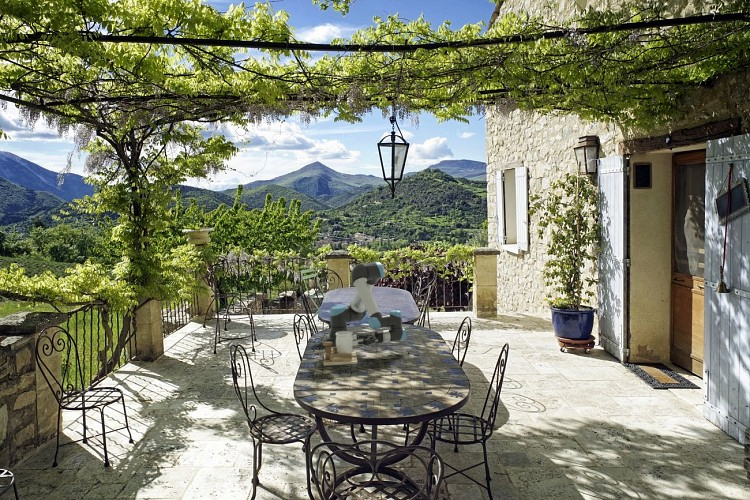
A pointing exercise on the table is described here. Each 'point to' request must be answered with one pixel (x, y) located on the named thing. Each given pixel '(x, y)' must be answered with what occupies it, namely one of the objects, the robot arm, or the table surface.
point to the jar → (344, 342)
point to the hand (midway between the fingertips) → (349, 340)
